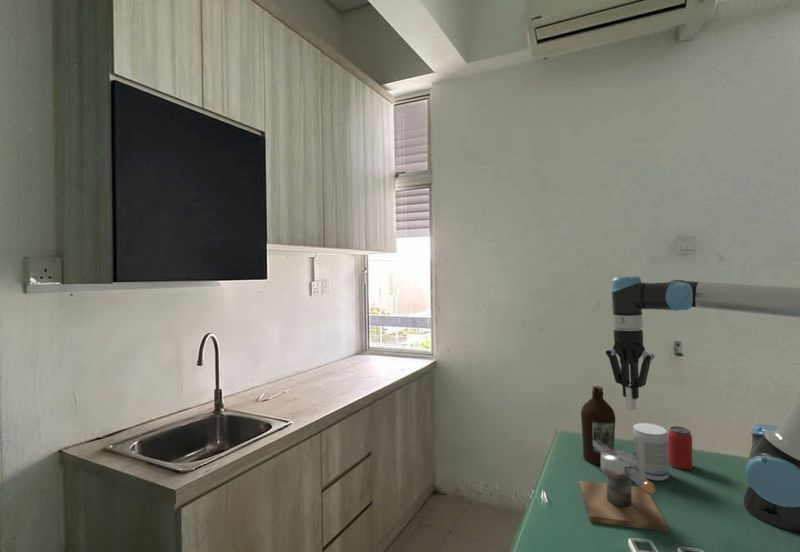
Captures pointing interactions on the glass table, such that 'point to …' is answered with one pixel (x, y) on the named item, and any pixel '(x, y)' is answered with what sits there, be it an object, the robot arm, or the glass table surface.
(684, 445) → the beer can
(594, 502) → the square wooden board
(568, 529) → the glass table surface
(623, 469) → the disc with handle bar
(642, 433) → the supplement tub
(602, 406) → the olive oil
